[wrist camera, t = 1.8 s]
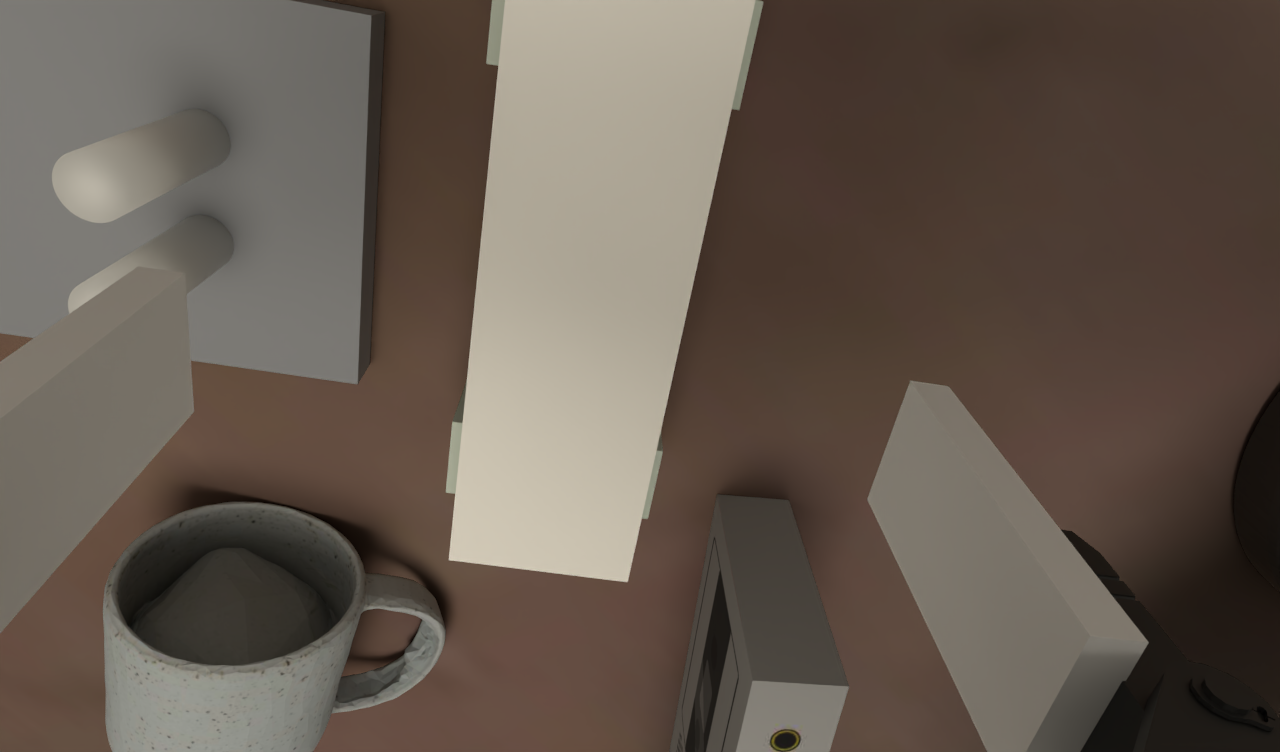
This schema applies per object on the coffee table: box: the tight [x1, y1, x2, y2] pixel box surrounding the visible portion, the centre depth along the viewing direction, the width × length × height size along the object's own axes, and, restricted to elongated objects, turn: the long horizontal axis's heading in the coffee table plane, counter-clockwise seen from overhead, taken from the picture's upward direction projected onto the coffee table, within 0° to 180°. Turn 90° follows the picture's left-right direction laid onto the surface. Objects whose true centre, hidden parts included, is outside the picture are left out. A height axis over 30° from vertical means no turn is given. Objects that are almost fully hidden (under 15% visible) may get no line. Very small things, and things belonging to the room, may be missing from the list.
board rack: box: [446, 0, 763, 519], centre depth 24 cm, size 6×14×5 cm, turn 170°
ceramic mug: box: [103, 502, 446, 752], centre depth 29 cm, size 11×8×8 cm
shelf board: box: [449, 0, 756, 582], centre depth 21 cm, size 16×5×2 cm, turn 170°
